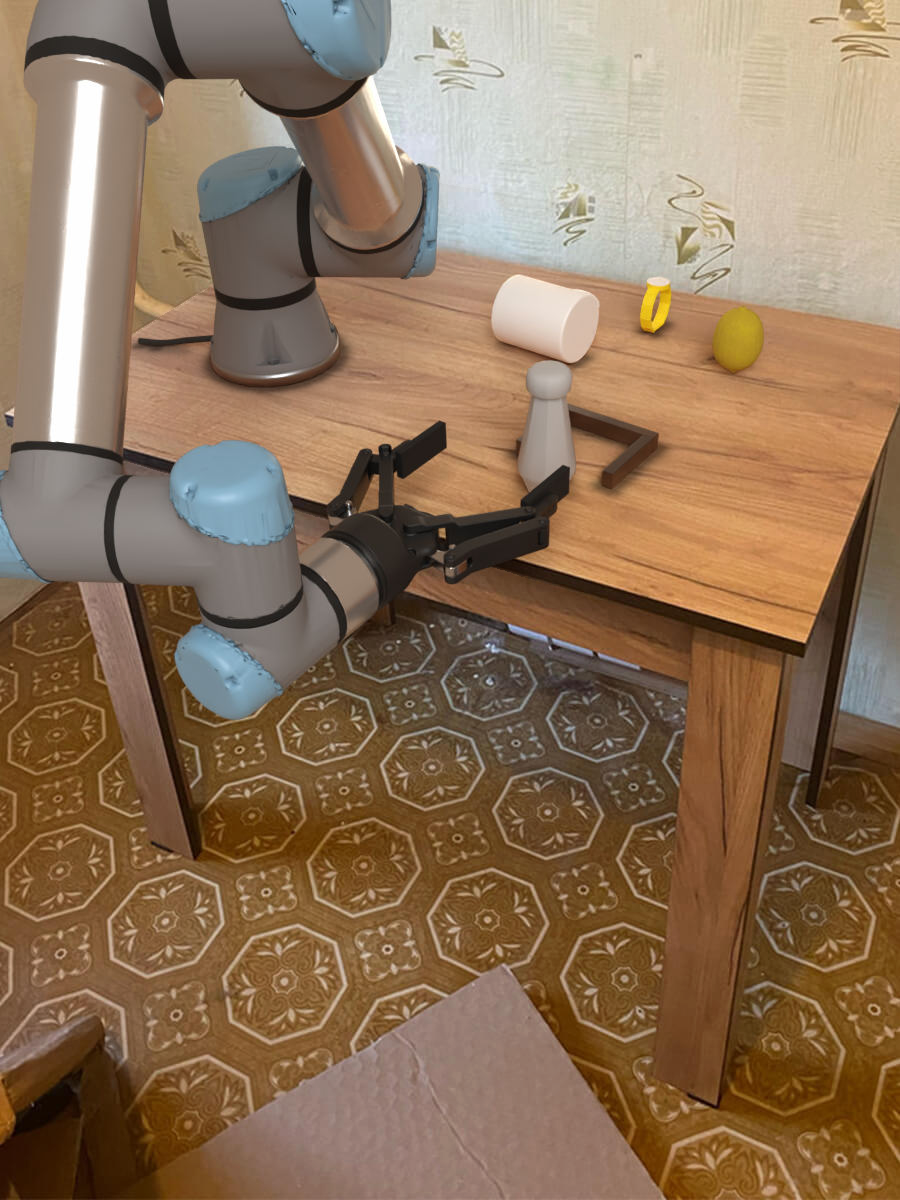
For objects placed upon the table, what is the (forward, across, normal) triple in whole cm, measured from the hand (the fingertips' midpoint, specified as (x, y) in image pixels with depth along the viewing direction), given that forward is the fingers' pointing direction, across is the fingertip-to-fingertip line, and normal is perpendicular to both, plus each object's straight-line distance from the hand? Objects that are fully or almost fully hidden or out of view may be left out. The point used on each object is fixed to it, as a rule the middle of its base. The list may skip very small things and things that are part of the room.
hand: (502, 455), depth 100 cm
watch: (+43, -8, -8) cm, 45 cm away
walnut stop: (+15, 0, -7) cm, 17 cm away
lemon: (+38, +5, -8) cm, 39 cm away
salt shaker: (+7, 0, -8) cm, 11 cm away
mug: (+33, -16, -8) cm, 38 cm away
